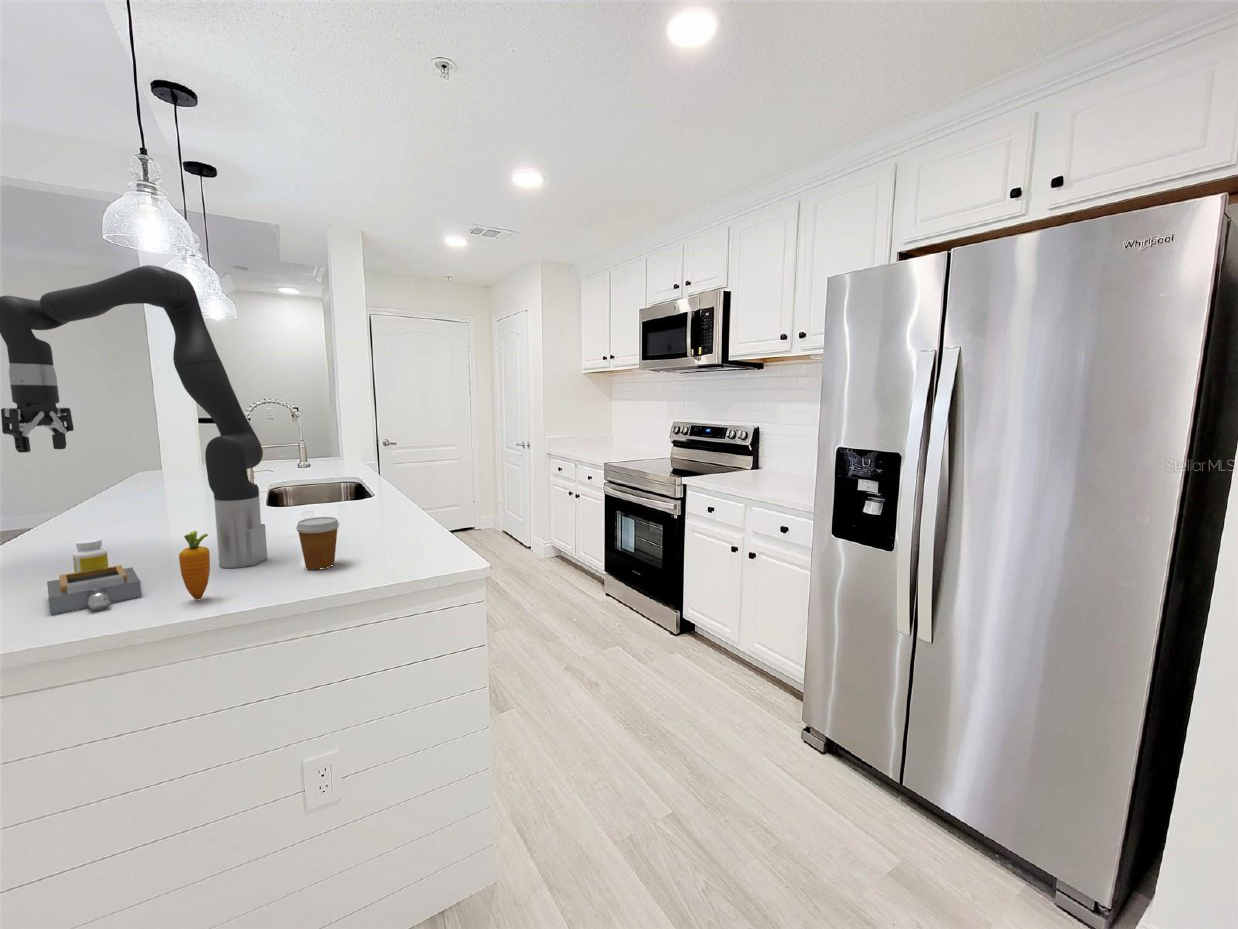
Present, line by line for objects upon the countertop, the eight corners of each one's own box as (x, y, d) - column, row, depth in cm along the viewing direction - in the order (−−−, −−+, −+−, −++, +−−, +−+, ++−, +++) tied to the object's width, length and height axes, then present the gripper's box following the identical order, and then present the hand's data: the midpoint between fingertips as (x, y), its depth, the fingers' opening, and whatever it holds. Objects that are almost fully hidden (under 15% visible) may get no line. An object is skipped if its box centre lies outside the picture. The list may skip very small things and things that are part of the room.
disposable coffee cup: (295, 574, 124) (292, 526, 122) (301, 563, 132) (298, 518, 131) (339, 570, 128) (337, 523, 126) (342, 559, 136) (340, 515, 135)
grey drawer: (133, 582, 117) (131, 561, 116) (144, 602, 106) (142, 578, 105) (48, 597, 107) (46, 574, 106) (51, 621, 96) (48, 596, 95)
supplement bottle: (116, 579, 118) (112, 538, 117) (90, 587, 113) (85, 544, 112) (95, 578, 119) (91, 537, 118) (68, 586, 114) (63, 543, 112)
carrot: (194, 595, 110) (188, 527, 108) (218, 595, 110) (213, 527, 108) (176, 604, 105) (170, 533, 103) (202, 604, 105) (196, 533, 103)
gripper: (20, 382, 116) (29, 453, 118) (79, 384, 130) (86, 448, 132) (-17, 382, 115) (-7, 453, 117) (47, 384, 129) (54, 448, 131)
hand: (42, 450), depth 124 cm, fingers open, 8 cm apart
